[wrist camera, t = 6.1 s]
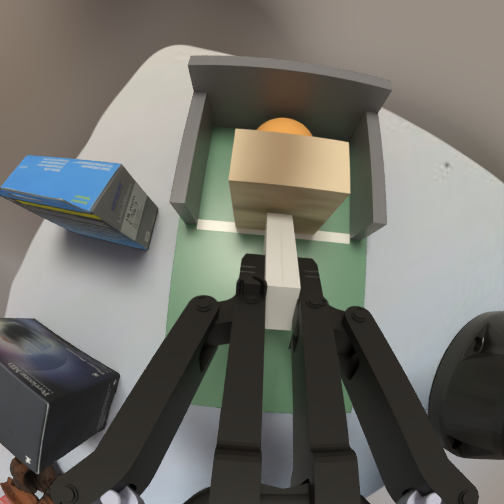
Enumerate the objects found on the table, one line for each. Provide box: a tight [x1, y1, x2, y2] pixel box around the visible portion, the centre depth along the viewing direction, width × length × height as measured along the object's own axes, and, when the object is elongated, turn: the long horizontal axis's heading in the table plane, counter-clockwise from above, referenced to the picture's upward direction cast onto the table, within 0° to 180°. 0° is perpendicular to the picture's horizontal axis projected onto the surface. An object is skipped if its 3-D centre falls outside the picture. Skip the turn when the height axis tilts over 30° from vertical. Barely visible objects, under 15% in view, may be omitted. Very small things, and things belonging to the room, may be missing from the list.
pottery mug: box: [0, 457, 60, 504], centre depth 16 cm, size 12×10×8 cm
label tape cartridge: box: [0, 155, 158, 250], centre depth 18 cm, size 9×4×12 cm, turn 78°
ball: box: [257, 118, 313, 137], centre depth 22 cm, size 5×5×5 cm
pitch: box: [165, 56, 392, 413], centre depth 19 cm, size 15×24×8 cm, turn 175°
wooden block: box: [228, 129, 350, 235], centre depth 19 cm, size 6×3×9 cm, turn 85°
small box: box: [0, 318, 119, 474], centre depth 16 cm, size 11×6×10 cm, turn 69°
